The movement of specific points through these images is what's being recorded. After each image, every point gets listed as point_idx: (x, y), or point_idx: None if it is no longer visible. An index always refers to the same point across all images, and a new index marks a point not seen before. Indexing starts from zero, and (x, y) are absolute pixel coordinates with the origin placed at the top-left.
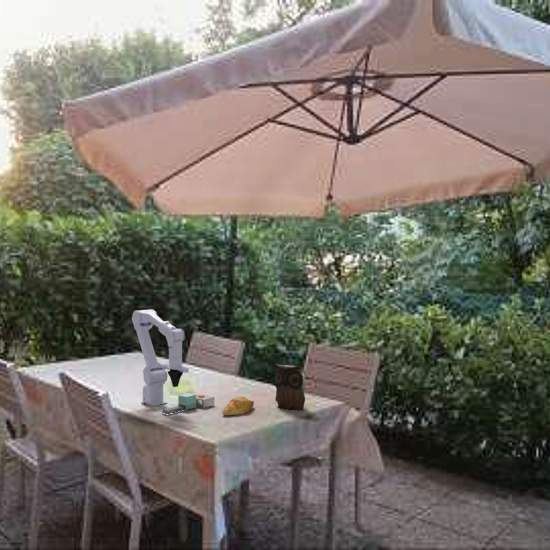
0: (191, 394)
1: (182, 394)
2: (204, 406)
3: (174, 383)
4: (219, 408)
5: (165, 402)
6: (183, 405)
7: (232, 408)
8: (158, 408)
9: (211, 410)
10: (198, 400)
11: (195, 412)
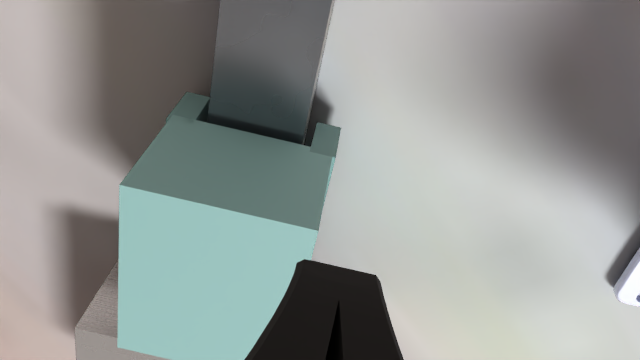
0: (179, 339)
1: None
2: (110, 277)
3: (278, 320)
4: (9, 308)
5: (635, 279)
6: None
7: None
8: (630, 39)
9: (3, 225)
10: None
11: (63, 82)
